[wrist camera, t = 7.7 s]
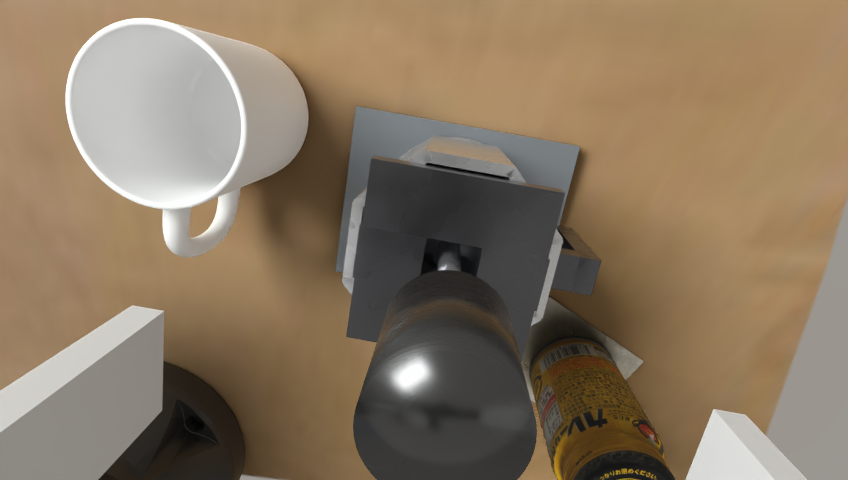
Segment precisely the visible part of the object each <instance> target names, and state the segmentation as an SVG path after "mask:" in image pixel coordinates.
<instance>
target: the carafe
mask: <svg viewBox="0 0 848 480" xmlns="http://www.w3.org/2000/svg"><path fill="white" fill-rule="evenodd" d="M433 164H439V165H444V166H450V167H455V168H461V169H466V170H472V171H477V172H483V173H488V174H489V175H491V176H486V175H481V174H475V173H470V172H464V171H459V170H453V169H448V168H442V167H437V166H431V165H433ZM564 196H565V193H564V192H563V191H562V190H561V189H558V188H553V187H547V186H542V185H536V184H531V183H526V181H525V180H524V178H523V177H522V175H521V174H520V172H519V171H518V169H517V168H516V166H515V165H514V164H513V163H512V162H511V161H510V160H509V159H508V158H507V157H506V155H505V154H504V153H503V152H502V151H501V150H500V149H499V148H498V147H497V146H492V145H487V144H484V143H481V142H479V141H476V140H472V139H468V138H463V137H442V136H437V135H434V136H432V137H430V138H429V139H427V140H426V141H425V142H423V143H421V144H419V145H416V146H415V147H413V148H412V149H410V150H408V151H407V152H406V153H405V154H403V155H402V156H401V157H400V158H399V159H392V158H387V157H381V156H376V155H375V156H373V157H372V158H371V163H370V170H369V177H368V184H367V188H366V189H365V190H364V191H363V192H362V193H361V194H359V195H358V196H357V197H356V198H355V199H354V200H353V202H352V209H351V217H350V224H349V232H348V239H347V247H346V255H345V262H344V270H343V277H342V282H343V285H344V286H345V287H346V289H347V290H348V291H349V292H350V294H351V295H352V299H351V307H350V314H349V321H348V328H347V335H346V337H350V338H356V339H361V340H366V341H372V342H377V341H378V338H379V335H380V331H381V328H382V325H383V322H384V319H385V316H386V313H387V310H388V307H389V305H390V303H391V301H392V299H393V297H394V296H395V295H396V293H397V292H398V291H399V290H400V289H401V288H402V287H403V286H404V285H405V284H406V283H408V282H409V281H411V280H412V279H414V278H416V277H418V276H420V273H421V267H422V262H423V256H424V251H425V245H426V240H427V238H431V239H436V240H442V241H447V242H453V243H458V244H463V245H469V246H474V247H480V250H479V254H478V259H477V264H476V268H475V273H474V276H476V277H478V278H480V279H482V280H483V281H485V282H486V283H488V284H489V285H490V286H491V287H492V288H493V289H495V290H496V292H497V293H498V294H499V295H500V296H501V298H502V300H503V301H504V303H505V305H506V307H507V310H508V313H509V316H510V320H511V324H512V328H513V332H514V336H515V340H516V344H517V348H518V352H519V356H520V360H521V361H522V358H523V354H524V350H525V346H526V342H527V338H528V334H529V331H530V327H531V326H532V325H534V324H535V323H537V322H539V321H541V318H542V319H543V315H544V311H545V307H546V304H547V300H548V296H549V292H550V289H551V288H553V289H558V290H564V291H569V292H575V293H580V294H586V295H591V294H592V291H593V287H594V284H595V281H596V277H597V274H598V270H599V267H600V263H601V260H600V259H599V258H598V257H597V256H596V254H595V253H594V252H593V251H592V250H591V249H590V248H589V247H588V246H587V245H586V243H585V242H584V241H583V240H582V239H581V238H580V237H579V236H578V235H577V233H576V232H575V231H574V230H573V229H572V228H567V227H561V226H557V223H558V219H559V215H560V211H561V207H562V203H563V200H564Z"/></svg>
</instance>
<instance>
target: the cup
mask: <svg viewBox="0 0 848 480" xmlns="http://www.w3.org/2000/svg"><path fill="white" fill-rule="evenodd" d="M66 112H67V118H68V123H69V126H70V130H71V133H72V136H73V138H74V141H75V143H76V145H77V147H78V149H79V151H80V153H81V155H82V156H83V158H84V159H85V161H86V162H87V164H88V165H89V166H90V168H91V169H92V170H93V171H94V173H95V174H96V175H97V176H98V177H99V178H100V179H101V180H102V181H103V182H104V183H106V184H107V185H108V186H109V187H110V188H112V189H113V190H114V191H116V192H117V193H119V194H121V195H122V196H124V197H126V198H128V199H130V200H132V201H134V202H136V203H139V204H142V205H145V206H148V207H152V208H157V209H163V233H164V239H165V242H166V244H167V246H168V248H169V249H170V250H171V251H172V252H173V253H174V254H176V255H179V256H181V257H196V256H199V255H202V254H204V253H206V252H208V251H210V250H212V249H213V248H215V247H216V246H217V245H218V244H219V243H220V242H221V241H222V240H223V239H224V238H225V236H226V235H227V234H228V232H229V230H230V229H231V227H232V224H233V222H234V219H235V216H236V213H237V209H238V204H239V198H240V190H241V187H244V186H246V185H248V184H251V183H253V182H256V181H258V180H261V179H263V178H265V177H268V176H270V175H272V174H274V173H276V172H278V171H280V170H281V169H283V168H284V167H285V166H287V165H288V164H289V163H290V162H291V161H292V160H293V159H294V158H295V156H296V155H297V154H298V152H299V151H300V149H301V147H302V145H303V143H304V140H305V137H306V134H307V129H308V118H309V117H308V106H307V101H306V97H305V94H304V91H303V89H302V87H301V85H300V83H299V81H298V79H297V78H296V76H295V75H294V73H293V72H292V71H291V70H290V68H289V67H288V66H287V65H286V64H285V63H284V62H282V61H281V60H280V59H279V58H277V57H276V56H275V55H273V54H272V53H270V52H268V51H266V50H264V49H262V48H260V47H257V46H254V45H251V44H248V43H245V42H241V41H237V40H234V39H230V38H226V37H223V36H219V35H215V34H211V33H208V32H204V31H200V30H197V29H193V28H189V27H186V26H182V25H178V24H175V23H171V22H167V21H163V20H158V19H151V18H134V19H127V20H123V21H119V22H116V23H113V24H111V25H109V26H107V27H105V28H103V29H102V30H100V31H99V32H97V33H96V34H95V35H94V36H92V37H91V38H90V39H89V40H88V41H87V42H86V43H85V44H84V46H83V47H82V48H81V50H80V51H79V53H78V54H77V56H76V58H75V60H74V62H73V64H72V66H71V69H70V72H69V76H68V80H67V86H66ZM217 197H218V206H217V211H216V215H215V218H214V220H213V222H212V224H211V226H210V227H209V228H208V229H207V230H206V231H205V232H204V233H203V234H201V235H199V236H197V237H193V238H190V237H189V225H190V215H191V207H194V206H197V205H200V204H202V203H205V202H207V201H210V200H212V199H214V198H217Z"/></svg>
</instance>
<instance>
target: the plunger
mask: <svg viewBox="0 0 848 480" xmlns="http://www.w3.org/2000/svg"><path fill="white" fill-rule="evenodd" d="M431 166H437V167H442V168H448V169H453V170H459V171H464V172H470V173H475V174H481V175H486V176H491V175H489V174H488V173H483V172H477V171H472V170H466V169H461V168H455V167H450V166H444V165H439V164H433V165H431ZM479 250H480V247H474V246H469V245H463V244H458V243H453V242H447V241H442V240H436V239H431V238H427V240H426V245H425V251H424V256H423V262H422V267H421V273H420V276H418V277H416V278H414V279H412V280H411V281H409V282H408V283H406V284H405V285H404V286H403V287H402V288H401V289H400V290H399V291H398V292H397V293H396V295H395V296H394V297H393V299H392V301H391V303H390V305H389V307H388V310H387V313H386V316H385V319H384V322H383V325H382V328H381V331H380V335H379V338H378V341H377V344H376V347H375V350H374V353H373V356H372V359H371V363H370V366H369V369H368V372H367V375H366V378H365V381H364V384H363V387H362V391H361V394H360V397H359V400H358V403H357V406H356V410H355V415H354V423H353V430H354V439H355V443H356V447H357V450H358V452H359V455H360V457H361V459H362V461H363V462H364V464H365V466H366V467H367V469H368V470H369V471H370V473H371V474H372V475H373V476H374V477H375V478H376V479H377V480H517V479H518V478H519V477H520V476H521V474H522V473H523V472H524V470H525V469H526V467H527V466H528V464H529V462H530V460H531V458H532V455H533V452H534V449H535V444H536V434H537V428H536V420H535V416H534V412H533V408H532V404H531V400H530V396H529V392H528V388H527V384H526V380H525V376H524V372H523V368H522V364H521V360H520V356H519V352H518V348H517V344H516V340H515V336H514V332H513V328H512V324H511V320H510V316H509V313H508V310H507V307H506V305H505V303H504V301H503V300H502V298H501V296H500V295H499V294H498V293H497V292H496V290H495V289H493V288H492V287H491V286H490V285H489V284H488V283H486V282H485V281H483V280H482V279H480V278H478V277H476V276H474V273H475V268H476V264H477V259H478V254H479Z"/></svg>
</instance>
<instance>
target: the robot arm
mask: <svg viewBox="0 0 848 480" xmlns="http://www.w3.org/2000/svg"><path fill="white" fill-rule="evenodd" d="M163 352H164V311H161V310H156V309H150V308H144V307H139V306H133V305H132V306H130V307H129V308H127V309H126V310H124V311H123V312H121V313H120V314H118V315H117V316H115V317H113V318H112V319H110V320H109V321H107V322H106V323H104V324H103V325H101V326H100V327H98V328H96V329H95V330H93V331H92V332H90V333H89V334H87V335H86V336H84V337H83V338H81V339H79V340H78V341H76V342H75V343H73V344H72V345H70V346H69V347H67V348H66V349H64V350H62V351H61V352H59V353H58V354H56V355H55V356H53V357H52V358H50V359H48V360H47V361H45V362H44V363H42V364H41V365H39V366H38V367H36V368H35V369H33V370H31V371H30V372H28V373H27V374H25V375H24V376H22V377H21V378H19V379H18V380H16V381H14V382H13V383H11V384H10V385H8V386H7V387H5V388H4V389H2V390H1V391H0V480H239V479H240V476H241V473H242V470H243V466H244V454H245V453H244V443H243V438H242V434H241V431H240V428H239V426H238V423H237V421H236V419H235V417H234V415H233V414H232V412H231V410H230V409H229V407H228V406H227V405H226V403H225V402H224V401H223V400H222V398H221V397H220V396H219V395H218V394H217V393H216V392H215V391H214V390H213V389H212V388H210V387H209V386H208V385H207V384H206V383H204V382H203V381H202V380H200V379H199V378H197V377H196V376H194V375H192V374H191V373H189V372H187V371H185V370H183V369H181V368H179V367H176V366H174V365H171V364H168V363H165V362H163ZM686 480H807V479H806V478H805V477H804V476H803V475H802V474H801V473H800V472H799V470H798V469H796V467H795V466H794V465H793V464H792V463H791V462H790V461H789V460H788V459H787V458H786V457H785V456H784V455H783V454H782V453H781V452H780V450H779V449H778V448H777V447H776V446H775V445H774V444H773V443H772V442H771V441H770V440H769V439H768V438H767V437H766V436H765V435H764V434H763V433H762V431H761V430H760V429H759V428H758V427H757V426H756V425H755V424H754V423H753V422H752V421H751V420H750V419H749V418H748V417H747V416H746V415H744V414H739V413H733V412H728V411H722V410H716V409H713V412H712V414H711V417H710V419H709V422H708V424H707V427H706V429H705V432H704V434H703V437H702V439H701V442H700V445H699V447H698V450H697V452H696V455H695V457H694V460H693V462H692V465H691V467H690V470H689V472H688V475H687V477H686Z"/></svg>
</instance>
